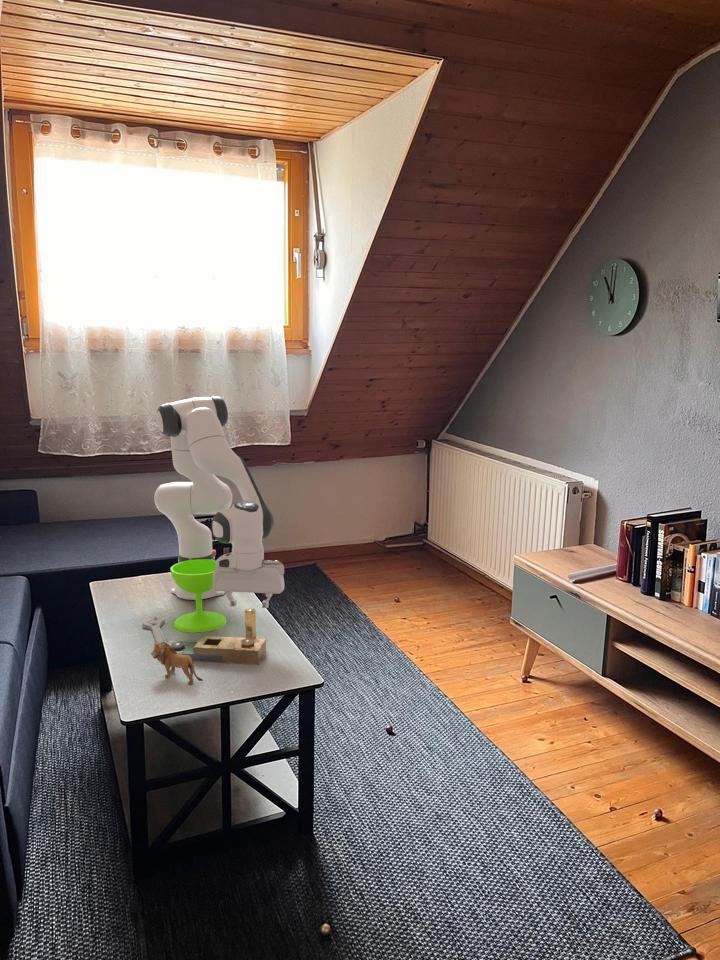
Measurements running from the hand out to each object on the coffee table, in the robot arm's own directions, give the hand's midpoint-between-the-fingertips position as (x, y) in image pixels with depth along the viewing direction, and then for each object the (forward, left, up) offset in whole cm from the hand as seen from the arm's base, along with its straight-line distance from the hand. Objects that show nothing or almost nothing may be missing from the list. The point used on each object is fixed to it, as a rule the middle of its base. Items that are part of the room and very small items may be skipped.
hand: (249, 606), depth 213 cm
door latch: (+9, -8, -11) cm, 17 cm away
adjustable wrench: (-3, -30, -12) cm, 32 cm away
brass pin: (-1, 0, -11) cm, 11 cm away
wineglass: (-14, -20, -11) cm, 27 cm away
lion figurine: (+24, -13, -12) cm, 29 cm away
